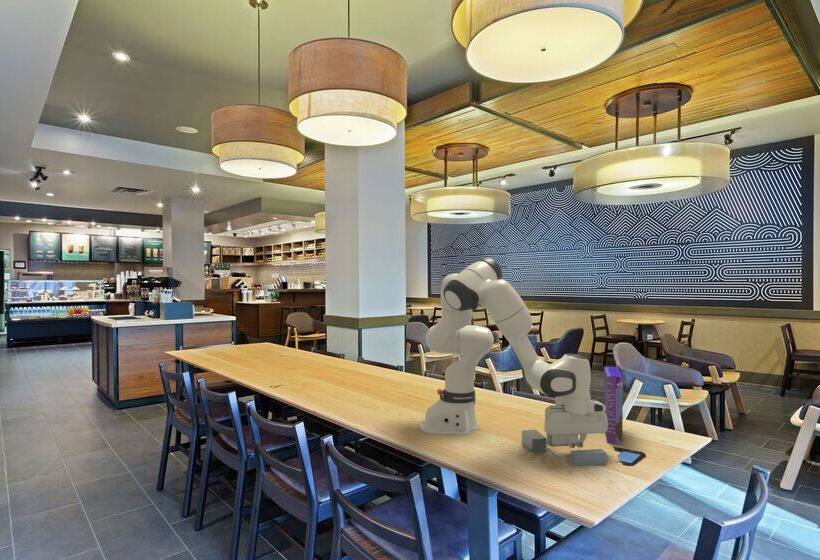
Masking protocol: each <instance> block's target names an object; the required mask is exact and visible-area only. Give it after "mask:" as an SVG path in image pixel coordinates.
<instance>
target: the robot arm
mask: <svg viewBox="0 0 820 560" xmlns="http://www.w3.org/2000/svg"><path fill="white" fill-rule="evenodd" d="M479 305H480V306H482V307H484V308H485V309H486V310H487V312H488V313H489V315H490V317H491V319H492V320H493V323H494V324H495V326H496V327H497V329H498V330H499V332H500V333H501V334H502V335H503V336H504V338H505V339H506V341H508V344H509V345H510V348H511V349H512V351H513V352H514V355H515V357H516V358H517V359H518V362H519V365H520V369H521V375H522V379H523V381H524V382H525V385H527V386H528V387H529V388H531V389H533V390H536V391H537V392H540V393H541V394H543V395H545V396H547V397H549V398H555V397H560V396H562V403H561V405H555V404H554V405H553V404H552V405H551V404H550V405H549V406H548V407H546V408H545V409H544V426H543V427H544V428H543V430H544V431H545V432H546V434H547V433H548V434H549V435H551V436H553V435H565V437H566V439H567V440H568V445H567V447H568V448H570V449H573V448H576V447H577V448H584V442H585V440H586V439H587V437H588V435H590V434H605V433H606V431H607V430H608V420H607V415H606V413H605V412H604V411H605V410H606V406H605V405H604V403H602V402H600V401H598V400H595V399H594V398H592V396H591V392H590V387H591V383H592V377H591V365H590V362H589V360H588V358H587V357H584V356H582V355H579V354H575V353H564V355H563V356H562V357H561V358H559V359H558V360H556V361H554V362H553V363H552V362H551V363H549V362H547V361H545V360H543V359H542V358H540V356H538V354H537V352H536V350H535V349H534V347H533V345H532V343H531V341H530V340H529V337H528V334H529V333H530V331H531V329H532V327H533V322H534V321H533V318H532V316H531V312H530V311H529V308H528V307H527V305H526V303H525V302H524V300H523V299H522V297H521V296H520V295H519V293H518V292H517V290H516V289H515V288H514V287H513V285H511V284H510V283H509V282H508V281H507V280H505V279H503V271H502V268H501V266H500V264H499V263H498V262H497V261H495V260H494V259H493V258H491V257H482V258H479V259H477V260H475V261H474V262H473V263H471V264H470V265H468V266H467V267H465V268H464V269H462V270H461V271H460V272H459V273H456V272H455V273H450V274H448V275H445V277H444V278H443V279H442V282H441V287H440V306H441V318H440V319H439V321H438V322H437V323H436V324H434V325H432V326H431V327H430V328H429V329H428V330H427V332H426V335H425V342H426V345H427V346H426V347H427V348H428V349H429V350H430V351H431V352H434V353H439V354H450V355H451V354H452V355H453V354H454V355H461V356H460V357H461V358H460V359H459V360H457V361H455V362H453V363H451V364H449V365H448V366H446V369H445V371H444V389H443V390H442V389H441V388H438V389H436V393H437V395H439V399H438V400H437V401H436V402H434V403H433V404H431V406H428V408H427V410H426V411H425V417H424V419H421V420H420V421H419V423H418V426H419V429H420V430H421V431H422V432H423V433H426V434H437V435H438V434H440V435H442V434H443V435H444V434H445V435H469V434H470V433H472V432H475V431H477V430H478V429H479V423H478V421H477V417H476V409H475V408H476V407H475V405H476V390H475V374H476V373H475V372H476V369H477V366H478V364H479V362H480V361H481V360H482V358H483V357H484V356H485V355H486V354H489V352H491V350H492V348H493V347H494V343H495V342H494V341H495V339H494V338H495V337H494V335H493V332H492V331H491V329H490V328H488V327H486V326H483V325H473V324H472V325H470V322H471V321H472V320H473V311H475V310H477V309H478V306H479ZM573 434H578V435H579V437H578V440H576V443H577V444H576V445H575V442H573V441H572V440H571V438H572V435H573Z"/></svg>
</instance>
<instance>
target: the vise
mask: <svg viewBox="0 0 820 560" xmlns="http://www.w3.org/2000/svg"><path fill="white" fill-rule="evenodd" d="M547 450H548V451H549V452H550V453H551V454H553V455H554V456H555V457H556V458H557V459H559V460H560V461H561V462H565V460H564V458H562V457H561V456H560V455H559V454H558V453H556V451H555V450H554V449H552V448H551V447H547ZM570 463H572V464H573V465H574V466H595V465H607V452H606V451H605V450H604V449H602V448H598V449H596V448H594V449H592V448H591V449H578V450H576V449H575V450H570Z"/></svg>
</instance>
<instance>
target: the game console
mask: <svg viewBox="0 0 820 560" xmlns="http://www.w3.org/2000/svg"><path fill="white" fill-rule="evenodd" d="M612 448H613V450H614V451H615V452H618V453H619V454H617V456H616V458H617V459H618V460H617V461H615V463H617V464H618V463H619V464H622V466H625V467H634V466H636V465H637V464H638V463H640V462H641V461H642V460H644V459H645V458H646V457H647V455H646V453H645V452H643V451H639V450H634V449H629V448H624V447H618V446H613V445H612Z"/></svg>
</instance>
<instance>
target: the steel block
mask: <svg viewBox="0 0 820 560" xmlns="http://www.w3.org/2000/svg"><path fill="white" fill-rule="evenodd" d="M547 445H548V443H547V436H545V435H543V434H542V433H540V432H539V431H538V430H537V429H526V430H525V429H524V430H521V446H523V447H525V449H527V450H528V451H529V452H531V453H532V454H534V453H535V454H536V453H537V454H538V453H547V450H548V449H547V448H548V447H547Z"/></svg>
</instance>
